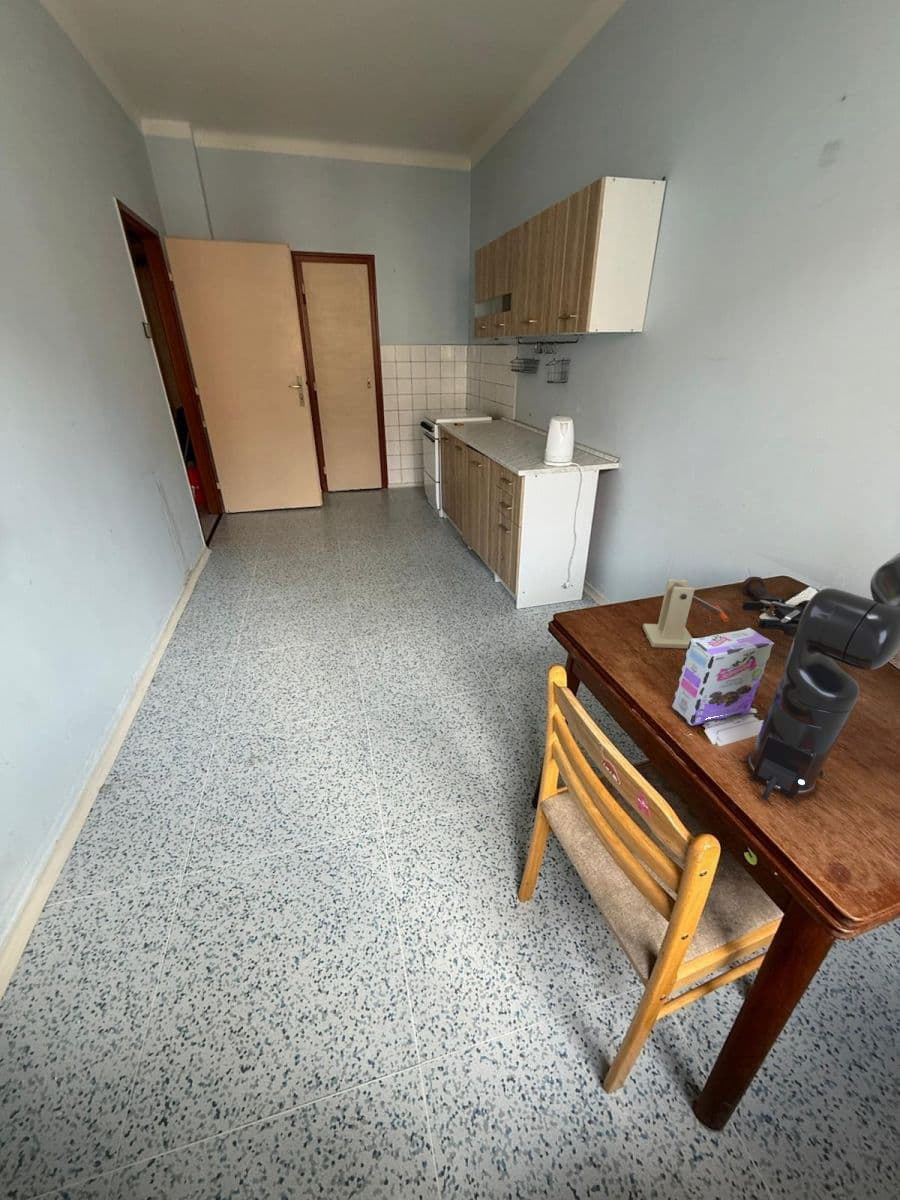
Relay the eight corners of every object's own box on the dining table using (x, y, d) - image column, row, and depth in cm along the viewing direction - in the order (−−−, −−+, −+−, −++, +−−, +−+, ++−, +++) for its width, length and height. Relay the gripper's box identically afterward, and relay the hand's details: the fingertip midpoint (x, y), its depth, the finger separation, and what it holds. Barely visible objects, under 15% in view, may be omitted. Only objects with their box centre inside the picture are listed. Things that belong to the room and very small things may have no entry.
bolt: (770, 623, 124) (745, 595, 137) (791, 616, 122) (763, 588, 135) (764, 607, 122) (739, 580, 134) (785, 599, 120) (758, 572, 133)
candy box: (690, 727, 89) (712, 655, 81) (670, 707, 94) (688, 637, 86) (750, 713, 92) (777, 642, 84) (727, 694, 97) (750, 625, 89)
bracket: (683, 629, 119) (696, 576, 112) (695, 649, 111) (711, 593, 104) (642, 627, 120) (653, 575, 113) (652, 647, 112) (664, 592, 105)
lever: (714, 612, 114) (721, 604, 113) (724, 624, 109) (732, 617, 108) (667, 586, 112) (673, 578, 111) (675, 598, 107) (682, 590, 106)
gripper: (813, 588, 113) (742, 586, 115) (851, 618, 101) (771, 615, 102) (802, 615, 117) (733, 613, 118) (838, 647, 104) (761, 644, 106)
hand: (751, 614), depth 110 cm, fingers open, 8 cm apart
